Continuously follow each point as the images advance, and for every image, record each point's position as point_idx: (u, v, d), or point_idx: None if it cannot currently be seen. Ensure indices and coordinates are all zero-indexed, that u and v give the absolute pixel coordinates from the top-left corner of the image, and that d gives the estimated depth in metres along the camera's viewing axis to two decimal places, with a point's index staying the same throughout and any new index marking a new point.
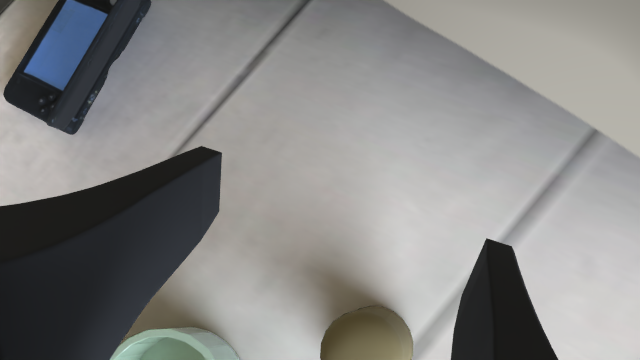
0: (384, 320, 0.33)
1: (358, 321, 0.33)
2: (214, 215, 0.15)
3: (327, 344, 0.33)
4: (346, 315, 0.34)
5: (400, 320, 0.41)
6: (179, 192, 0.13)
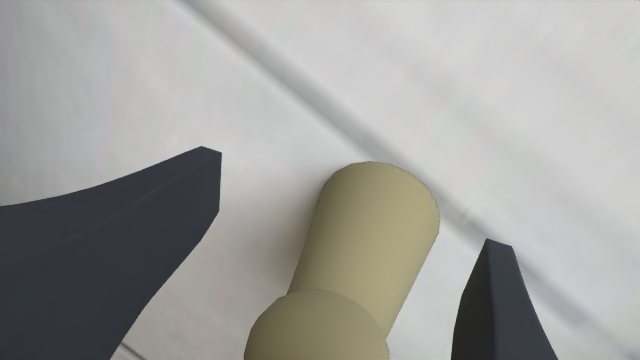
0: (252, 333, 0.19)
1: None
2: (214, 215, 0.15)
3: None
4: None
5: (330, 187, 0.25)
6: (179, 192, 0.13)
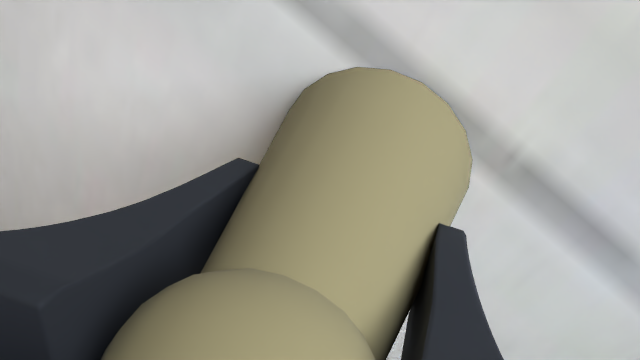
0: (101, 359, 0.09)
1: None
2: None
3: None
4: None
5: (293, 109, 0.15)
6: (220, 206, 0.12)
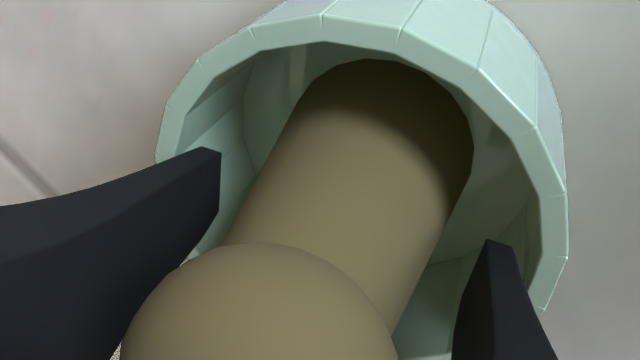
0: (131, 324, 0.10)
1: None
2: (214, 215, 0.15)
3: None
4: None
5: (302, 99, 0.16)
6: (179, 192, 0.13)
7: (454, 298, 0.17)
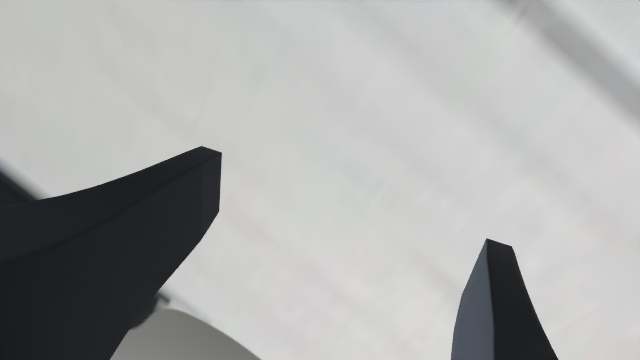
0: None
1: None
2: (214, 215, 0.15)
3: None
4: None
5: None
6: (179, 192, 0.13)
7: None
